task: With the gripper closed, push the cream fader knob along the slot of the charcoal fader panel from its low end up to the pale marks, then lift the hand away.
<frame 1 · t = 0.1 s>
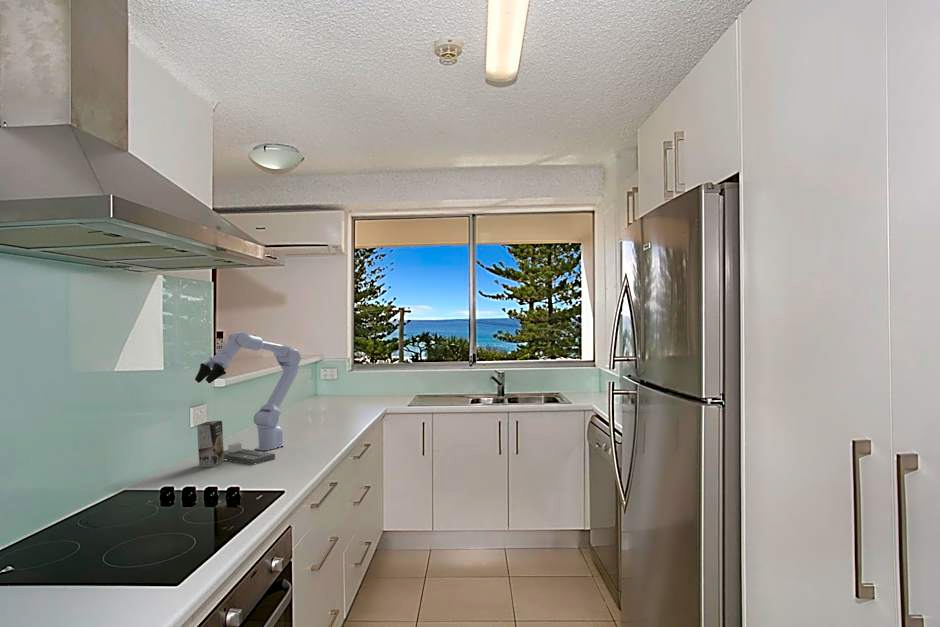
hand: (202, 381, 252), 32 cm above the table, tool tilted 50°, fingers open, 7 cm apart
fader panel: (244, 458, 257), on the table
fader knob: (234, 447, 261), point 4 cm above the table, slide at -6.0 cm
coffee box: (212, 465, 250), on the table
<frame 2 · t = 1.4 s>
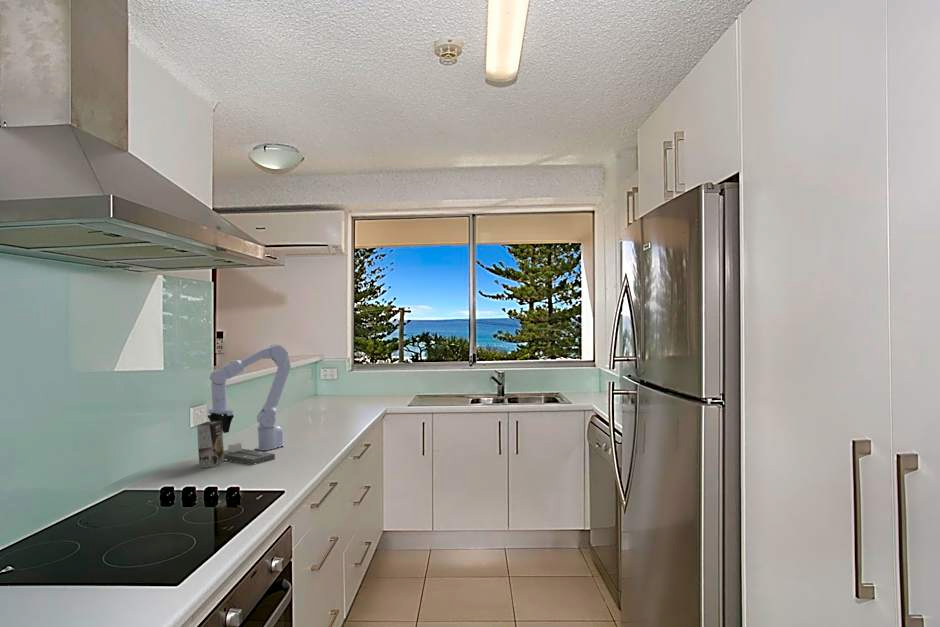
hand: (221, 432, 266), 9 cm above the table, tool pointing down, fingers open, 6 cm apart
nothing on the table moved.
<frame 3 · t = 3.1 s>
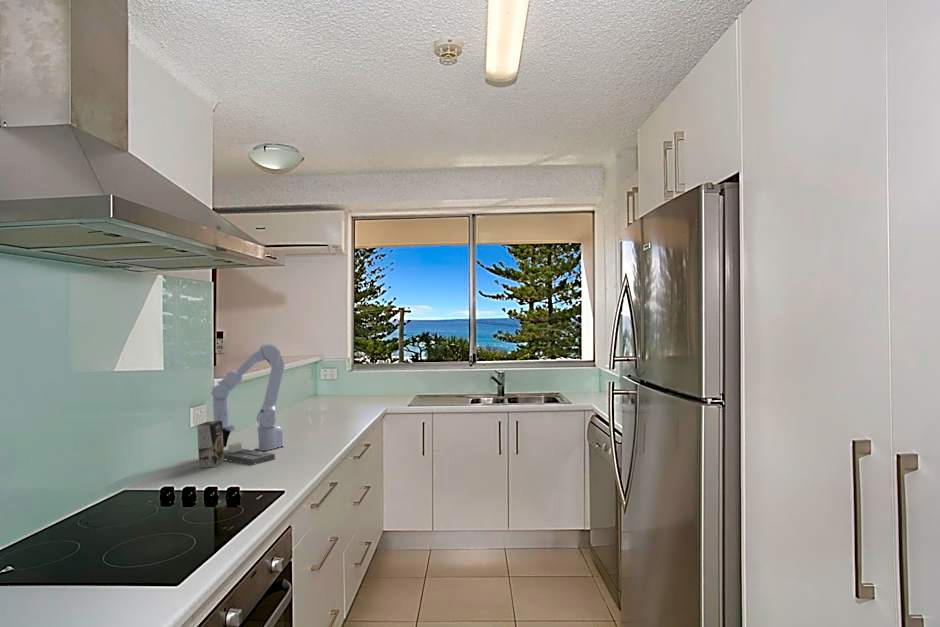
hand: (223, 447, 266), 3 cm above the table, tool pointing down, fingers closed
nothing on the table moved.
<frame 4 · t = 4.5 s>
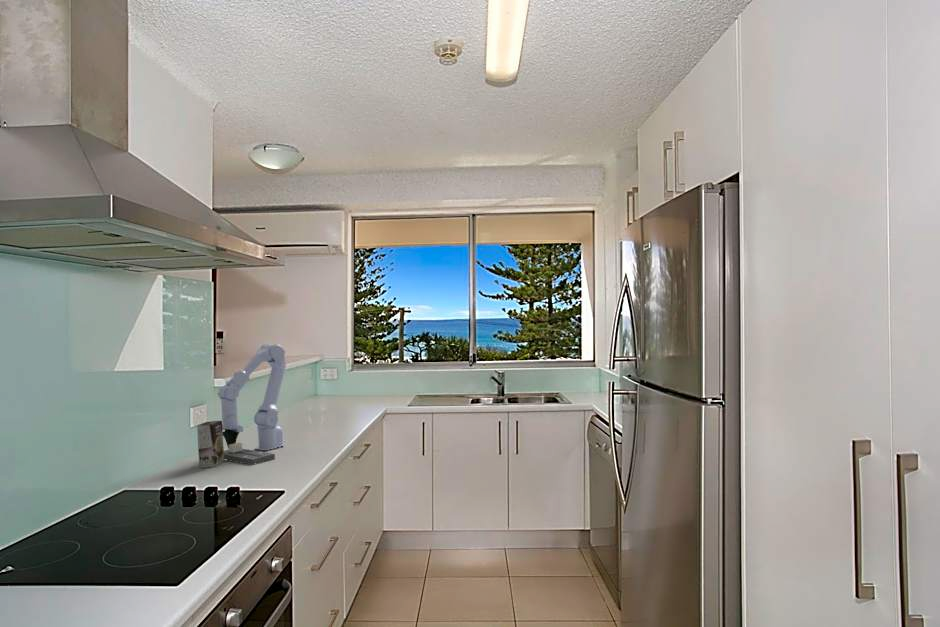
hand: (231, 448, 263), 3 cm above the table, tool pointing down, fingers closed
fader knob: (235, 447, 261), point 4 cm above the table, slide at -5.7 cm, touching gripper
everything else where it was.
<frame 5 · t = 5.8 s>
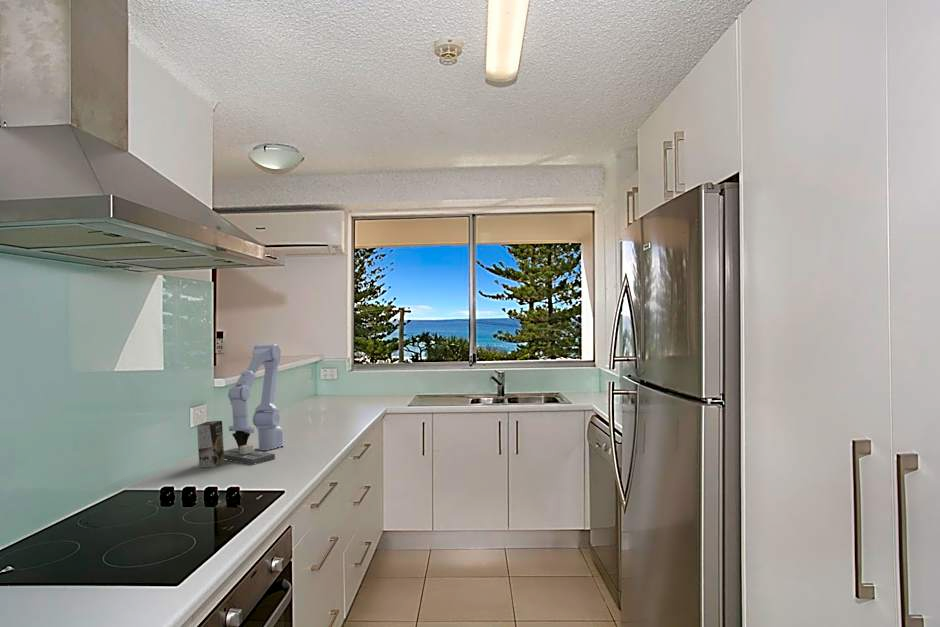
hand: (242, 450, 258), 3 cm above the table, tool pointing down, fingers closed
fader knob: (246, 449, 256), point 4 cm above the table, slide at 1.9 cm, touching gripper
everything else where it was.
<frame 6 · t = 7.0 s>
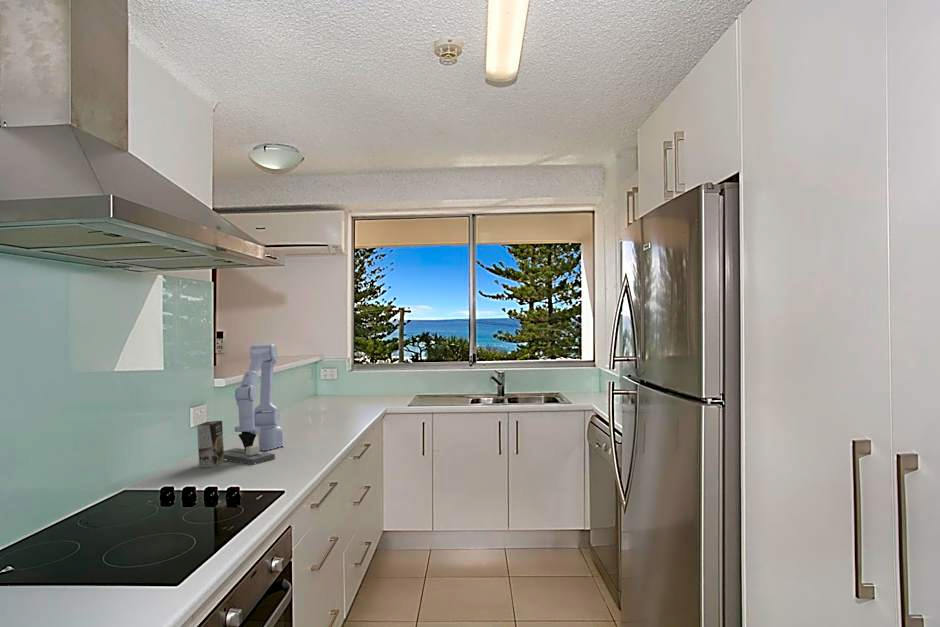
hand: (248, 451, 255), 3 cm above the table, tool pointing down, fingers closed
fader knob: (252, 450, 254), point 4 cm above the table, slide at 6.1 cm, touching gripper
everything else where it was.
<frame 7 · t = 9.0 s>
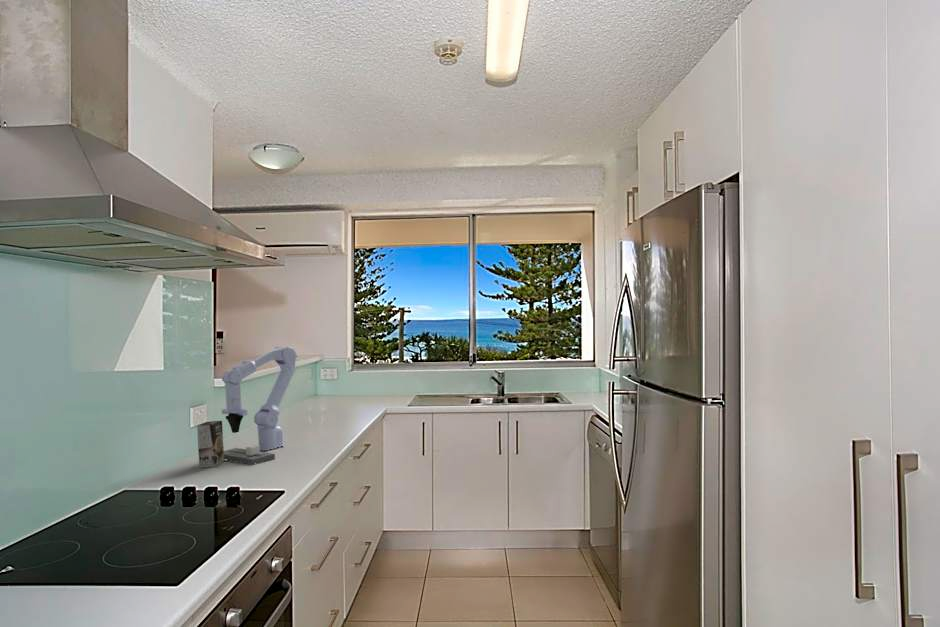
hand: (235, 432, 264), 9 cm above the table, tool pointing down, fingers closed
fader knob: (252, 450, 254), point 4 cm above the table, slide at 6.2 cm
everything else where it was.
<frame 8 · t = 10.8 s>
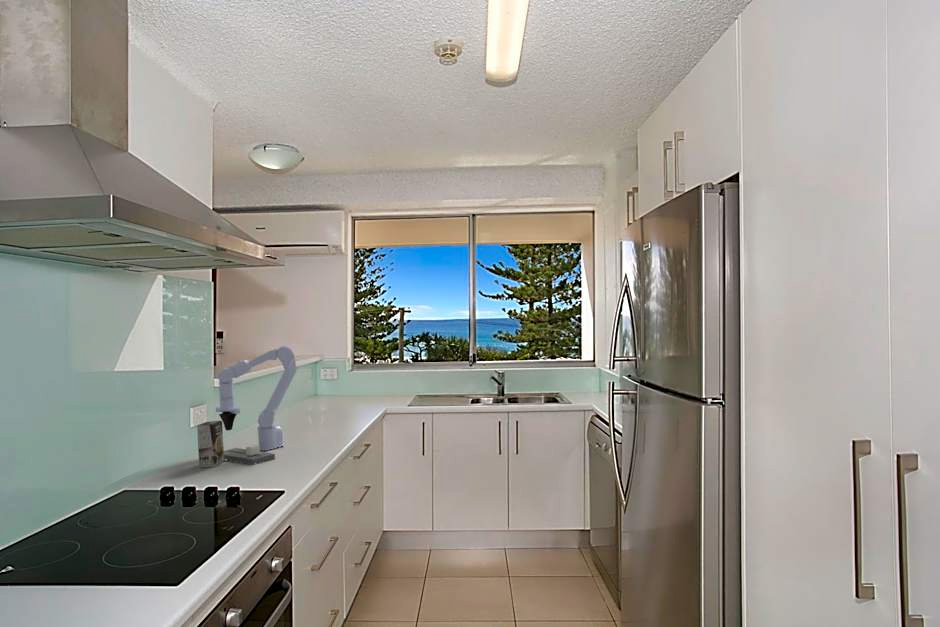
hand: (228, 430, 270), 9 cm above the table, tool pointing down, fingers closed
nothing on the table moved.
at the end: fader knob slide at 6.2 cm; coffee box moved 0.2 cm from its start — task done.
